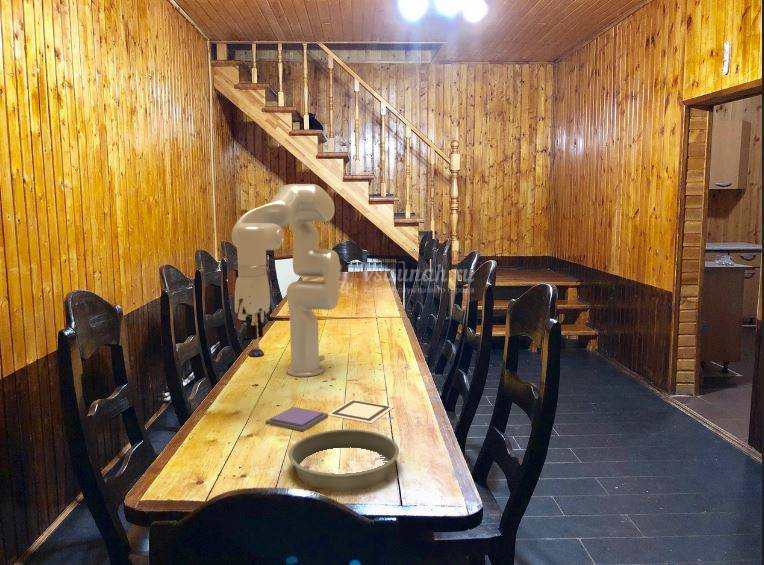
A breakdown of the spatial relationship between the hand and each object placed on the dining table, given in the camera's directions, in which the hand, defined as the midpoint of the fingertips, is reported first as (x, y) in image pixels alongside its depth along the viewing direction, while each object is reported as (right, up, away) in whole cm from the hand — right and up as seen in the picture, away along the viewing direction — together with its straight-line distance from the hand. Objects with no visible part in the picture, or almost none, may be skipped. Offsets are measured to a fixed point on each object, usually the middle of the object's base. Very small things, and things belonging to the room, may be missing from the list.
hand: (254, 337), depth 167 cm
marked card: (+29, -21, +5) cm, 36 cm away
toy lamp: (0, -5, +1) cm, 5 cm away
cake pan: (+26, -27, -31) cm, 49 cm away
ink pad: (+12, -22, -2) cm, 25 cm away
